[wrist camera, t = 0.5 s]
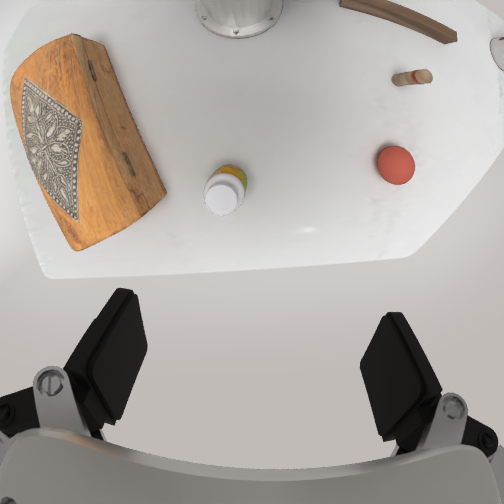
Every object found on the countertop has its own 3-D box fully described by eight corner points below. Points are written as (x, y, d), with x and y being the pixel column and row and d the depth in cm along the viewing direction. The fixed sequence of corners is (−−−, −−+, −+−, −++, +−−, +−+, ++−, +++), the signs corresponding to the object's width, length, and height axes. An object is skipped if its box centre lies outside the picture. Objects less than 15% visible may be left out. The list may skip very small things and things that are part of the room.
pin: (391, 72, 31) (420, 66, 23) (402, 76, 31) (433, 71, 23) (391, 84, 32) (420, 80, 24) (402, 87, 32) (432, 85, 24)
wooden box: (43, 92, 32) (-9, 98, 20) (108, 41, 29) (58, 26, 17) (98, 226, 45) (56, 264, 33) (169, 193, 42) (135, 228, 30)
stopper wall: (339, -3, 25) (346, -12, 22) (444, 35, 25) (456, 32, 22) (339, 6, 26) (346, -2, 23) (444, 44, 26) (457, 41, 23)
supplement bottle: (254, 184, 41) (252, 203, 33) (227, 204, 43) (219, 229, 34) (231, 157, 39) (223, 169, 31) (205, 179, 41) (190, 198, 32)
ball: (374, 140, 37) (391, 145, 32) (406, 147, 37) (424, 153, 32) (369, 176, 40) (384, 186, 34) (400, 181, 40) (417, 192, 34)
